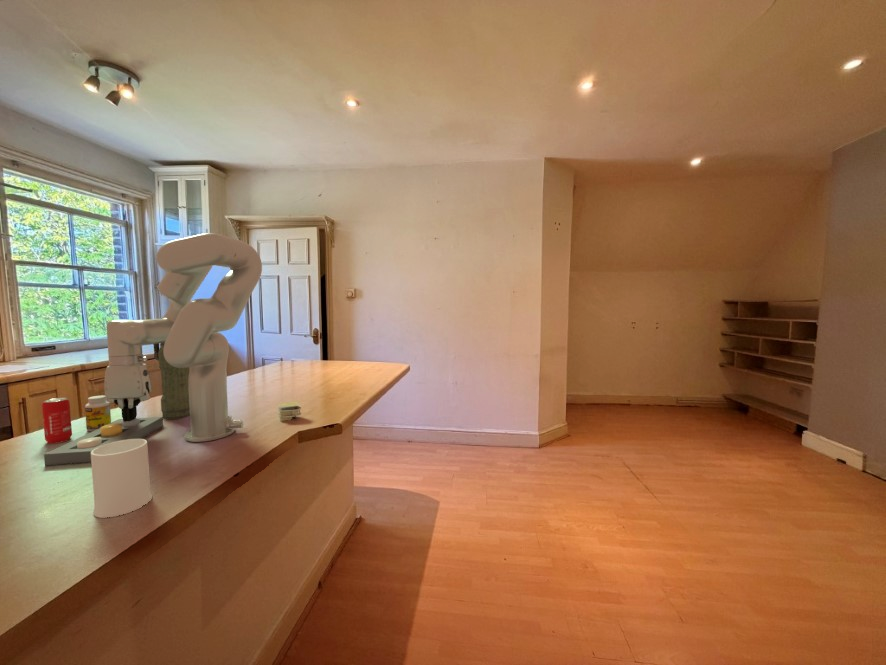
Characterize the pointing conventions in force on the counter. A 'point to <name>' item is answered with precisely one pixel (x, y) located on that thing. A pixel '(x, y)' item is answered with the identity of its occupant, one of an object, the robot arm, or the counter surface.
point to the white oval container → (120, 477)
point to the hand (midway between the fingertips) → (129, 419)
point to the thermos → (173, 387)
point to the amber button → (111, 429)
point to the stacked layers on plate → (289, 410)
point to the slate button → (131, 422)
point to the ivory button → (89, 442)
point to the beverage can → (57, 420)
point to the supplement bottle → (97, 412)
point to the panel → (83, 455)
